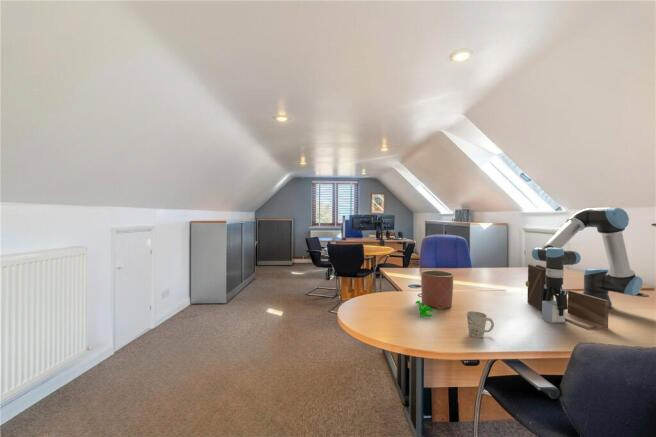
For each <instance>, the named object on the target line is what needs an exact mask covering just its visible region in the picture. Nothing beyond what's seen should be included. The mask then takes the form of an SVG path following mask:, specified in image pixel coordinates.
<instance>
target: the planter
mask: <svg viewBox="0 0 656 437" xmlns="http://www.w3.org/2000/svg"><path fill="white" fill-rule="evenodd" d="M454 277H455V276H454V273H452V272H448V271H445V270H444V271H443V270H436V269H435V270H430V269H429V270H422V271H421V272H420V278H421V279H420V281H421V282H420V284H421V305H425V304H426V305H427V307H431V308H435V309H437V310H442V309H447V308H451V307H452V305H453V294H454V292H453V291H454Z"/></svg>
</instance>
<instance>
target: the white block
mask: <svg viewBox="0 0 656 437" xmlns="http://www.w3.org/2000/svg"><path fill="white" fill-rule="evenodd" d="M557 309H558V306H557V302H556V300H554V301H542V312H541V320H543V321H546V322H548V323H549V324H560V323H561V324H564V323H566V321H565V313H566V310H563V316H562V322H557V321H556V315H557Z"/></svg>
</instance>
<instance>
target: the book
mask: <svg viewBox="0 0 656 437" xmlns="http://www.w3.org/2000/svg"><path fill="white" fill-rule="evenodd" d="M546 276H547V275H546V266H543V265H541V264H540V265H539V264H536V265H533V264H528V265H527V280H526V281H525V286H526V287H527V298H526V299H527V300H526V302H527V305H528V304H529V305H530V306H531V307H532V308H535V309H536V310H538V311H539V312H541V313H542V302H541V295H542V286H541V285H546V284H547V283H546ZM554 298H555V296H554V294H553V295H552V298H551V301H555V300H554Z"/></svg>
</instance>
